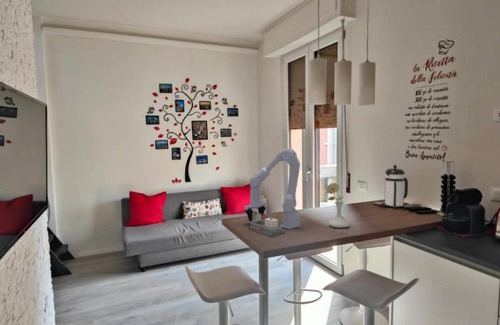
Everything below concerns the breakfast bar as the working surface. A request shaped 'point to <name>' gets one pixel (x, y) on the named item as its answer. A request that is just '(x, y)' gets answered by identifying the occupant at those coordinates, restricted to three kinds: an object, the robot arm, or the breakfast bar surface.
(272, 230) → the grey compartment holder
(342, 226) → the flower in vase
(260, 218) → the plug
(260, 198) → the ink cartridge box
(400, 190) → the coffee press
